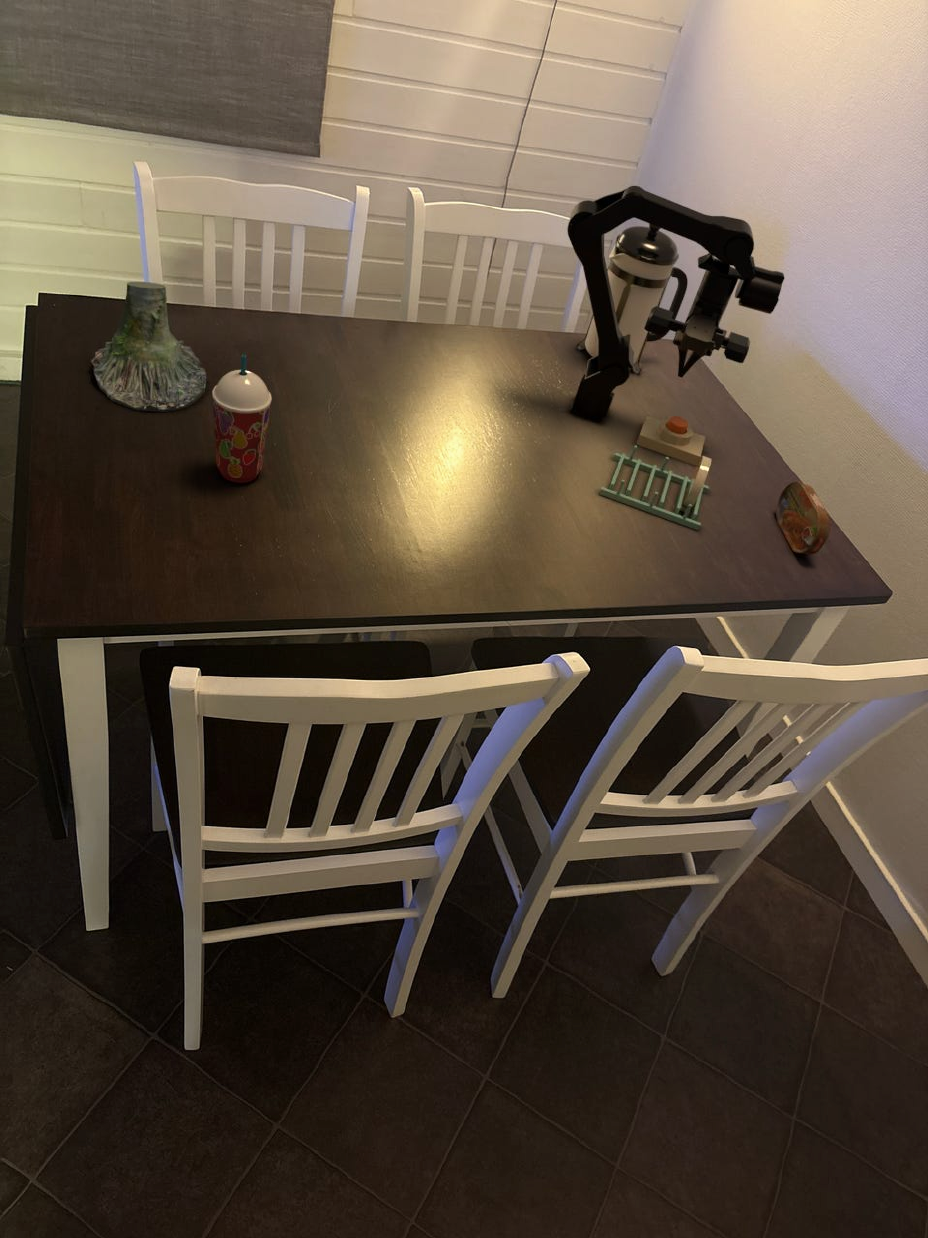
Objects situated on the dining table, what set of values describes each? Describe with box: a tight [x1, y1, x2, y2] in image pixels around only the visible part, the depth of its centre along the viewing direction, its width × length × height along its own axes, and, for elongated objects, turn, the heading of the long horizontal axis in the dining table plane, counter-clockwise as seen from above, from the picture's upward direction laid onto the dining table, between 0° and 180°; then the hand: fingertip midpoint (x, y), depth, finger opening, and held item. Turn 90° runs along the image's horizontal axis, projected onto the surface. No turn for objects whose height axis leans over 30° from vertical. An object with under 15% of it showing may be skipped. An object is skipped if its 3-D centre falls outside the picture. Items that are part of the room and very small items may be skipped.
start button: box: [667, 416, 689, 434], centre depth 169 cm, size 4×4×2 cm
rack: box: [599, 445, 710, 531], centre depth 158 cm, size 18×13×4 cm
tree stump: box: [90, 281, 207, 413], centre depth 149 cm, size 18×20×18 cm
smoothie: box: [211, 354, 273, 484], centre depth 132 cm, size 8×8×20 cm
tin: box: [775, 481, 831, 555], centre depth 155 cm, size 15×3×8 cm, turn 5°
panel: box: [635, 415, 706, 467], centre depth 171 cm, size 12×8×4 cm, turn 73°
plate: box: [679, 455, 713, 515], centre depth 155 cm, size 2×9×10 cm, turn 162°
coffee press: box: [576, 223, 689, 375], centre depth 183 cm, size 17×16×30 cm
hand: (680, 376), depth 167 cm, fingers closed
